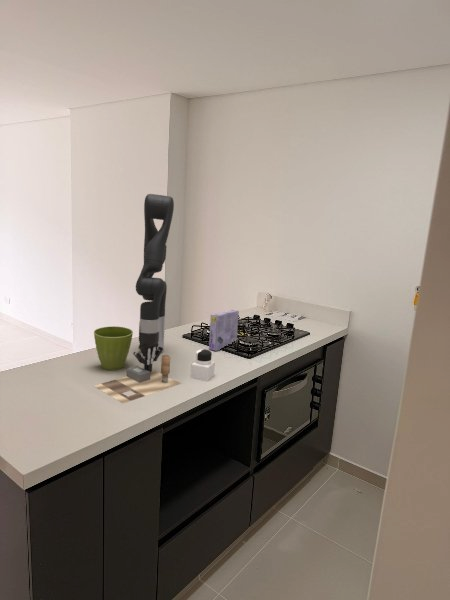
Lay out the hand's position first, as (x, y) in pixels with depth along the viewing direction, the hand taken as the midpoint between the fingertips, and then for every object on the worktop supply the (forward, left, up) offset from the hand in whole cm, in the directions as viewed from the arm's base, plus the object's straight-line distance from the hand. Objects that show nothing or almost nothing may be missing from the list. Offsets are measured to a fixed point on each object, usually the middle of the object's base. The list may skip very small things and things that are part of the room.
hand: (147, 372), depth 160 cm
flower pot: (-16, -5, -3) cm, 17 cm away
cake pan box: (-9, +54, -3) cm, 55 cm away
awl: (+9, +1, -1) cm, 9 cm away
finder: (0, -4, -1) cm, 4 cm away
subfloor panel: (+5, -8, -3) cm, 10 cm away
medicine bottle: (+14, +16, -3) cm, 21 cm away
